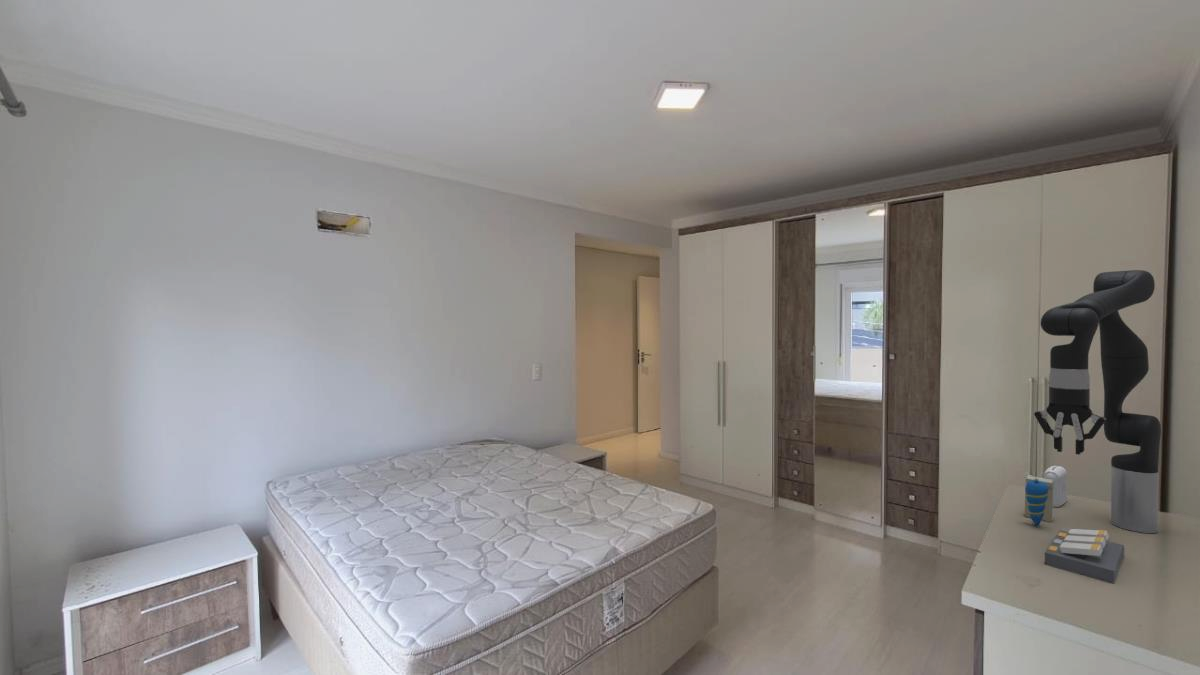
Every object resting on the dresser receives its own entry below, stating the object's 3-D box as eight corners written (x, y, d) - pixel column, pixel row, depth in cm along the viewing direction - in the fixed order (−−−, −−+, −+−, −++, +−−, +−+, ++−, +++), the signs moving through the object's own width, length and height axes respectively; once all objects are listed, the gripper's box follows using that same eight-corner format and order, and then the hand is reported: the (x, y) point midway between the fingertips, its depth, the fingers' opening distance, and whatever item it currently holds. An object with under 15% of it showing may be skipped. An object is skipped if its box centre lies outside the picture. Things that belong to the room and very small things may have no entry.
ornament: (1048, 526, 143) (1048, 476, 142) (1048, 532, 139) (1048, 480, 138) (1025, 521, 146) (1025, 472, 146) (1024, 527, 142) (1024, 477, 142)
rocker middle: (1068, 540, 126) (1066, 534, 127) (1106, 543, 121) (1103, 536, 121) (1065, 545, 124) (1063, 539, 124) (1103, 548, 118) (1101, 541, 119)
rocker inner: (1072, 534, 130) (1070, 528, 130) (1109, 536, 125) (1107, 530, 125) (1069, 538, 127) (1068, 532, 128) (1107, 540, 122) (1104, 534, 122)
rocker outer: (1064, 547, 123) (1062, 541, 123) (1102, 550, 117) (1100, 544, 117) (1061, 552, 120) (1059, 546, 120) (1100, 555, 115) (1098, 549, 115)
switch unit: (1059, 540, 133) (1059, 527, 133) (1123, 556, 124) (1123, 542, 124) (1044, 564, 121) (1044, 549, 121) (1114, 583, 112) (1114, 567, 112)
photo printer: (1051, 498, 164) (1051, 462, 164) (1068, 501, 161) (1068, 465, 161) (1041, 504, 159) (1041, 467, 158) (1059, 508, 155) (1059, 470, 155)
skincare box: (1024, 516, 150) (1024, 478, 149) (1026, 512, 153) (1026, 474, 152) (1052, 522, 145) (1052, 482, 145) (1053, 518, 148) (1053, 479, 148)
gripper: (1110, 386, 121) (1110, 455, 121) (1035, 382, 132) (1035, 445, 132) (1106, 390, 116) (1106, 461, 116) (1029, 385, 127) (1029, 450, 127)
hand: (1068, 452), depth 124 cm, fingers open, 3 cm apart
